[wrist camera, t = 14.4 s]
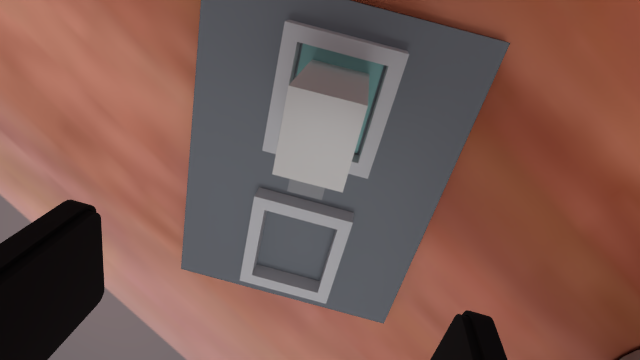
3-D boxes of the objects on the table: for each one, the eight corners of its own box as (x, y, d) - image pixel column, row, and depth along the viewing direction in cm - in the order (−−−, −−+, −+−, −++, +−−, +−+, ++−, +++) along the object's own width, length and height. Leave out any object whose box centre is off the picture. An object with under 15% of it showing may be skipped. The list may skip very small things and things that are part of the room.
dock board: (505, 41, 24) (518, 46, 22) (383, 315, 36) (384, 336, 34) (210, -38, 25) (193, -40, 22) (185, 262, 37) (173, 279, 34)
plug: (369, 73, 25) (368, 105, 18) (347, 150, 28) (339, 204, 21) (312, 59, 25) (288, 85, 18) (295, 137, 28) (269, 186, 21)
